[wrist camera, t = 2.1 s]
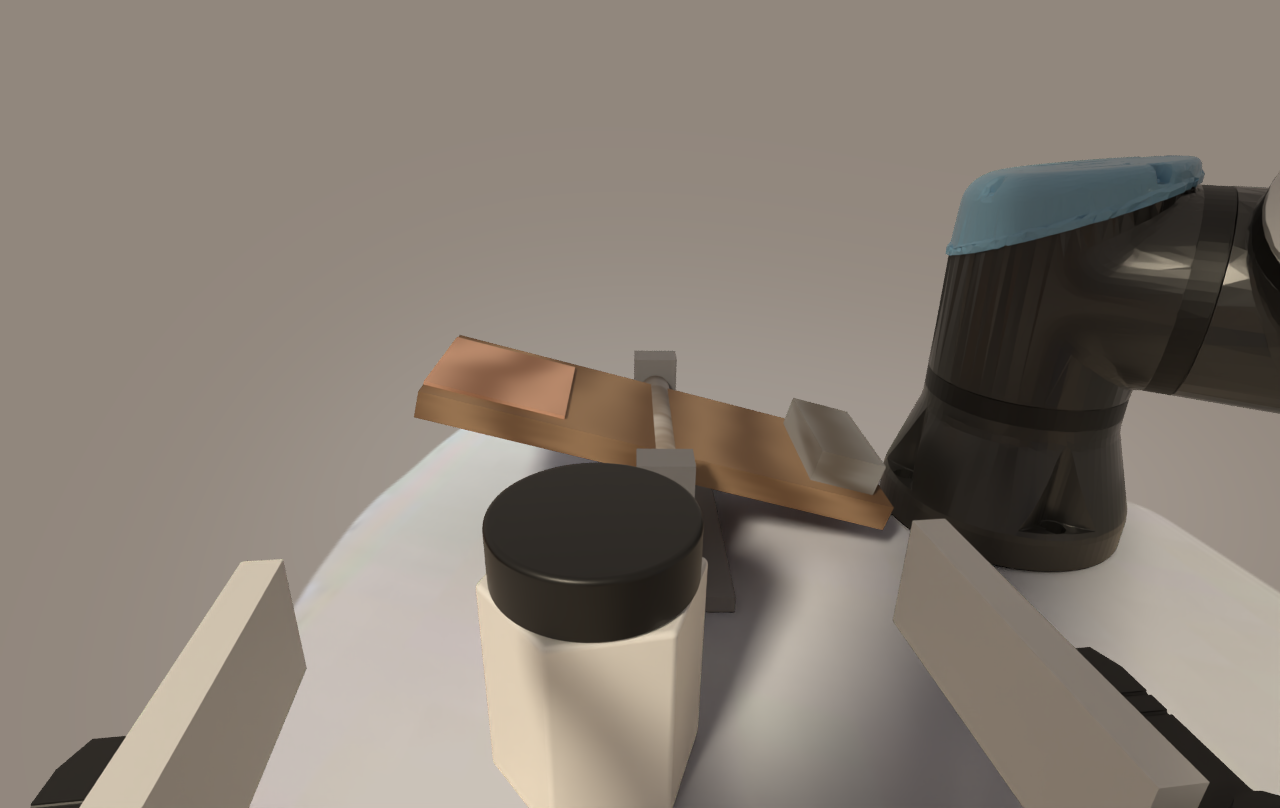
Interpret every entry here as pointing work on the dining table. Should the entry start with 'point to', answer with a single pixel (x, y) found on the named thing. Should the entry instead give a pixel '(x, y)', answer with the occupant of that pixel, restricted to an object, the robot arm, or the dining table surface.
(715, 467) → the beam
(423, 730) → the dining table surface
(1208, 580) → the dining table surface
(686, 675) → the jar
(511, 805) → the dining table surface
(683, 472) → the pivot stand
